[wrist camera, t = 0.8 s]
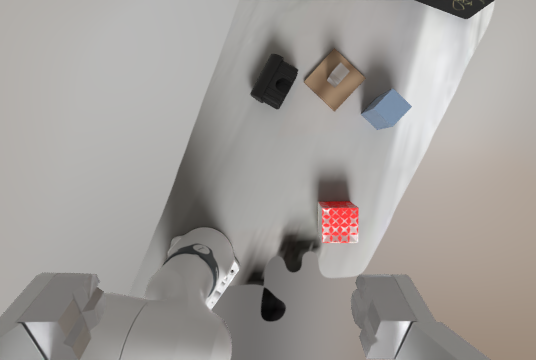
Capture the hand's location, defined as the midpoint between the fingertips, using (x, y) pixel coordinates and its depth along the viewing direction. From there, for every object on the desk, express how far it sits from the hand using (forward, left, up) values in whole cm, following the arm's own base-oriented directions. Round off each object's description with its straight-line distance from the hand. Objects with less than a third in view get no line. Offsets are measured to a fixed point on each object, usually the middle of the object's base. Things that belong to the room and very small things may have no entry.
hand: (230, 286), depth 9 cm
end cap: (+18, +8, -61) cm, 64 cm away
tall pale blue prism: (+21, -17, -61) cm, 67 cm away
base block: (+24, -4, -61) cm, 66 cm away
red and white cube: (-6, -18, -61) cm, 64 cm away
